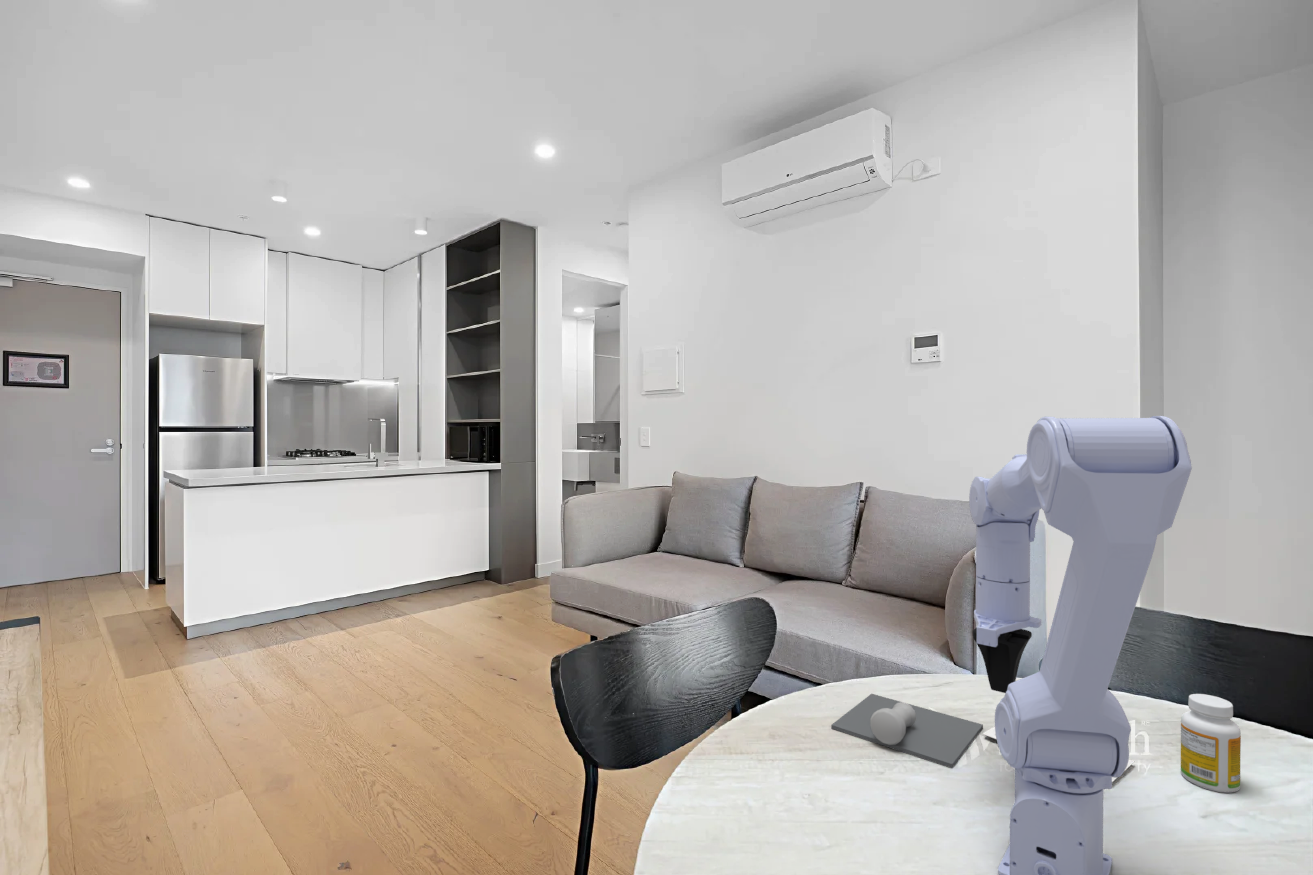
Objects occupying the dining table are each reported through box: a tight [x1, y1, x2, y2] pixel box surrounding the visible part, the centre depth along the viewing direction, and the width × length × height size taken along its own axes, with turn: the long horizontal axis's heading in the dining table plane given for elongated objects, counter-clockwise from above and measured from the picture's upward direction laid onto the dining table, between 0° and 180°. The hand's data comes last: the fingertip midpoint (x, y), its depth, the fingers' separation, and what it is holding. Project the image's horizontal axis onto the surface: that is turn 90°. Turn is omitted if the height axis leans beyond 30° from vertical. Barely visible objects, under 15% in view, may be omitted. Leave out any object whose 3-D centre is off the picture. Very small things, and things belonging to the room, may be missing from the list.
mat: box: [830, 693, 984, 769], centre depth 90 cm, size 14×16×1 cm
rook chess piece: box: [870, 701, 916, 745], centre depth 87 cm, size 4×4×8 cm
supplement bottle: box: [1180, 693, 1242, 794], centre depth 76 cm, size 5×5×10 cm
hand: (1001, 690), depth 77 cm, fingers closed
